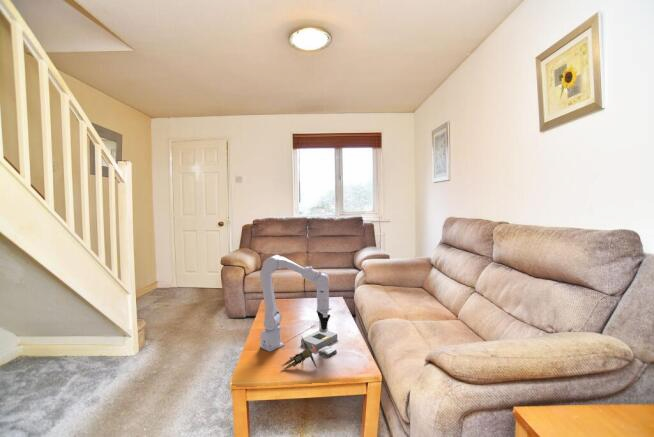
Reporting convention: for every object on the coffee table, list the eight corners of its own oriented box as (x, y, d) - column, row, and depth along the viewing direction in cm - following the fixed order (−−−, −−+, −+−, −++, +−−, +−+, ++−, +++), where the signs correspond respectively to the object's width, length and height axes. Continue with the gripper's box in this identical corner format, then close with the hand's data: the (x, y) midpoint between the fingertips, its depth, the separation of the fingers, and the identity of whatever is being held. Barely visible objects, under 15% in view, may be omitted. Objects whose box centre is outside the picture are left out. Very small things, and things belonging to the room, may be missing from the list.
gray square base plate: (328, 357, 135) (328, 354, 135) (318, 353, 139) (318, 350, 139) (336, 352, 139) (336, 349, 139) (326, 348, 143) (326, 345, 143)
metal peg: (319, 332, 141) (319, 318, 141) (318, 329, 145) (318, 315, 145) (328, 332, 142) (328, 317, 142) (326, 328, 146) (326, 314, 146)
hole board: (315, 351, 141) (315, 344, 141) (300, 345, 148) (300, 338, 148) (337, 339, 153) (337, 333, 153) (322, 334, 160) (322, 328, 160)
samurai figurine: (292, 384, 128) (334, 359, 131) (289, 386, 119) (333, 359, 123) (277, 348, 134) (316, 325, 138) (272, 347, 125) (315, 323, 129)
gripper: (333, 303, 137) (334, 332, 137) (328, 294, 151) (329, 321, 151) (318, 304, 135) (318, 333, 136) (314, 295, 150) (315, 322, 150)
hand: (323, 327), depth 144 cm, fingers closed on metal peg, 4 cm apart
